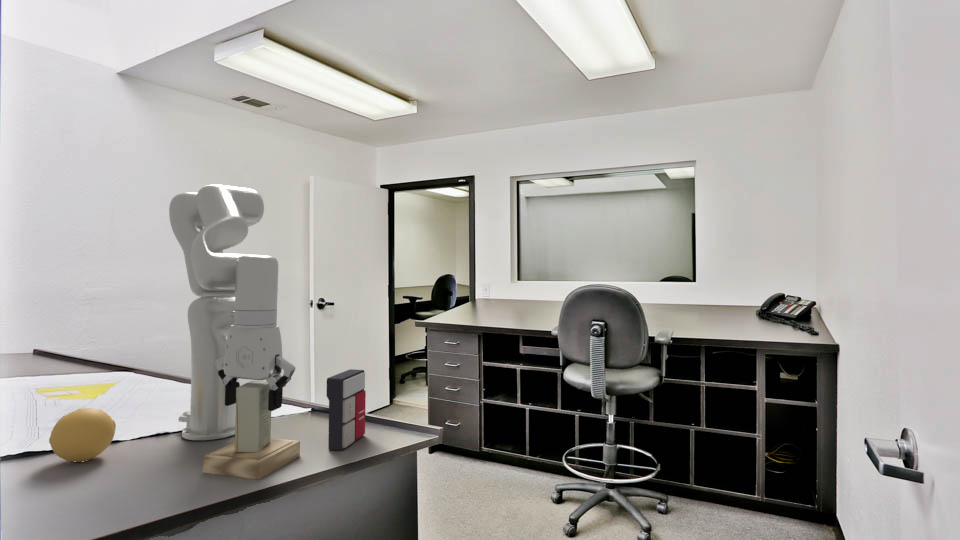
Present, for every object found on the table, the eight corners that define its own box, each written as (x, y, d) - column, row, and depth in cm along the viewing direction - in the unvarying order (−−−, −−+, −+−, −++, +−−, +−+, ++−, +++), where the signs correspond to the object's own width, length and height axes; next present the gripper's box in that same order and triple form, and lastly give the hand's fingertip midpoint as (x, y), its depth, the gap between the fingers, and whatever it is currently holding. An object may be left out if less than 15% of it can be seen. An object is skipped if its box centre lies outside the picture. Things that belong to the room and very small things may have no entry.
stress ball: (100, 470, 92) (137, 425, 100) (58, 441, 87) (101, 395, 95) (66, 472, 96) (104, 427, 103) (23, 443, 90) (67, 399, 98)
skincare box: (249, 441, 97) (250, 380, 97) (271, 441, 97) (273, 380, 97) (233, 452, 91) (234, 387, 91) (257, 453, 91) (258, 387, 91)
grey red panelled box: (344, 451, 101) (345, 379, 101) (325, 450, 102) (326, 378, 102) (366, 435, 112) (367, 369, 112) (349, 434, 113) (350, 368, 113)
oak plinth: (203, 472, 90) (203, 455, 90) (248, 450, 101) (249, 435, 101) (259, 479, 87) (259, 461, 87) (299, 456, 98) (299, 440, 98)
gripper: (203, 317, 93) (200, 407, 93) (282, 323, 89) (279, 416, 89) (232, 314, 100) (229, 397, 100) (306, 319, 96) (303, 405, 96)
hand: (253, 406), depth 95 cm, fingers open, 9 cm apart
